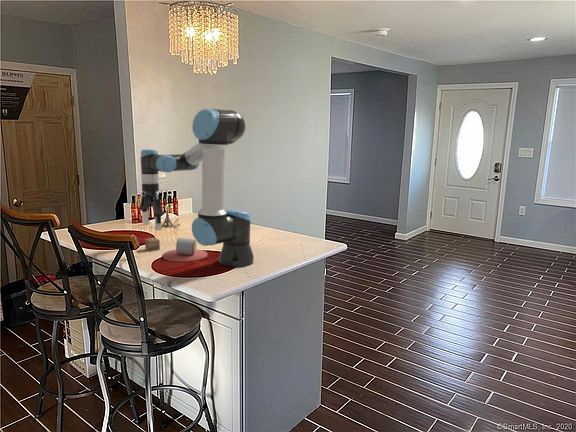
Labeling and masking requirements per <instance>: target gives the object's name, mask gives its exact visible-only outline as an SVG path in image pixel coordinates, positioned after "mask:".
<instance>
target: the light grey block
mask: <svg viewBox="0 0 576 432" xmlns="http://www.w3.org/2000/svg"><path fill="white" fill-rule="evenodd" d="M196 249H197V241H196V239H195V238H186V237H178V238H177V239H176V243H175V250H176V253H177V254H178V255H193V254H195V252H196Z"/></svg>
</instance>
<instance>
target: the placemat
mask: <svg viewBox="0 0 576 432" xmlns="http://www.w3.org/2000/svg"><path fill="white" fill-rule="evenodd" d="M205 257H206V258H207V257H208V252H207V251H206V250H204V249H203V250H202V249H197V248H196V252H195V254H193V255H178V254H177V253H176V249H172V250H169V251H166V252H164V253H162V259H164V260H166V261H169V262H173V263H174V262H175V263H187V262H188V263H189V262H190V261H192V262H197V261H196V260H198V261H201V260H204V259H205ZM203 258H204V259H203ZM200 259H201V260H200ZM190 263H191V262H190Z"/></svg>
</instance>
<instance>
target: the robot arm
mask: <svg viewBox="0 0 576 432" xmlns="http://www.w3.org/2000/svg"><path fill="white" fill-rule="evenodd" d="M191 127H192V133H193V134H194V137H195V139H197V140H198V143H196V144H195V145H193V146H192V147H191V148H190V149H188V150H186V151H185V152H184V153H182V154H181V153H180V154H179V153H178V154H159V152H158V150H157V149H149V148H148V149H146V148H145V149H142V150H141V151H140V171H141V174H140V175H141V176H140V177H141V178H140V179H141V191H142V192H141V198H140V204H139V210H140V212H141V216H142V218H141V219H142V226H149V207H150V205H151V207H152V210H153V213H154V231H162V217H163V216H164V210H163V206H162V202H161V197H160V194H157V192H159V191H160V189H159V188H160V184H159V183H158V182H159V177H160V175H159V172H161V173H162V172H163V173H171V172H180V171H181V172H183V171H193V170H194V171H195V170H197V169H198V167H199V166H200V163H201V162H202V163H201V165H202V166H201V167H202V169H201V170H202V171H201V172H202V175H201V176H202V177H201V178H202V179H201V188H202V189H201V208H200V209H199V210H198V212H197V218H195V219H194V220H193V221H192V223H191V232H192V235H193V237H194V238H193V239H194V240H196V243H198V244H199V245H200V246H204V247H207V246H215V245H218V244H222V246H221V247H222V248H221V251H220V254H219V257H218V263H219V264H220V265H223V266H226V267H236V268H237V267H245V266H246V267H247V266H250V265H253V263H254V262H255V261H254V260H255V257H254V254H253V250H252V248H251V247H252V246H251V215H250V213H249V212H248V211H246V210H242V209H241V210H240V209H227V208H224V195H225V194H224V193H225V192H224V191H225V189H224V188H225V187H224V186H225V151H226V149H227V147H229V145H231V144H232V145H233V144H235V142H238V140H239V139H241V138H242V137H243V136H244V134H245V131H246V128H247V127H246V122H245V119H244V117H243V116H242V114H240V112H238V111H235V110H231V109H218V108H203V109H200V110H199V111H198V112H197V113H196V114H195V116H194V118H193V120H192V126H191Z"/></svg>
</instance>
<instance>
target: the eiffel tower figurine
mask: <svg viewBox="0 0 576 432" xmlns="http://www.w3.org/2000/svg"><path fill="white" fill-rule="evenodd" d="M180 226H181V224H180V223H178V224H177V225H174V224H173V223H172V221H171V219H170V217H169V207H168V206H166V215H165V220H164V221H163V223H162V224H161V227H162V228H163V229H164V228H179V227H180Z"/></svg>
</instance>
